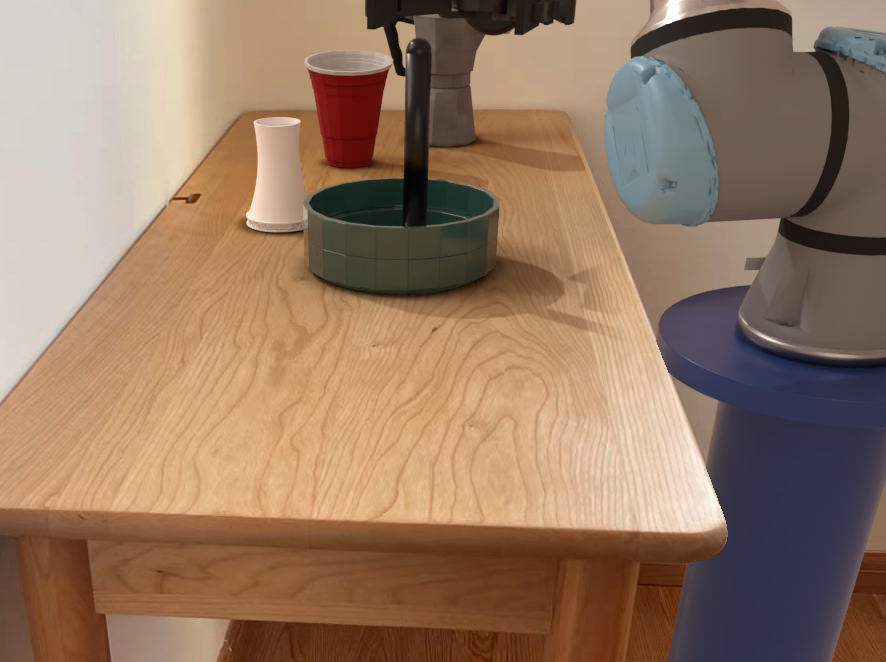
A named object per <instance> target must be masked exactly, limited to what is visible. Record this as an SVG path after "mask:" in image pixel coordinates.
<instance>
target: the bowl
mask: <svg viewBox="0 0 886 662" xmlns="http://www.w3.org/2000/svg"><path fill="white" fill-rule="evenodd" d="M403 183H404V176H391V177H390V176H388V177H374V178H373V177H372V178H362V179H355V180H350V181H348V180H347V181H342V182H338V183H337V182H336V183H334V184H330V185H327V186H323V187H320V188H318V189H317V190H314V191H312V192H310V193H309V194H307V196H306V198H305V200H304V202H303V230H302V231H303V259H304V263H305V265H306V267H307V270H308V271H310V272H311V273H312V274H315V276H318V277H319V278H320V279H323V280H324V281H326V282H328V283H330V284H332V285H335V286H338V287H342V288H346V289H350V290H353V291H354V290H355V291H358V292H359V291H360V292H366V293H373V294H374V293H375V294H389V295H390V294H391V295H411V294H413V295H415V294H427V293H428V294H429V293H435V292H436V293H437V292H442V291H448V290H452V289H455V288H460V287H463V286H466V285H468V284H471V283H474V282H475V281H477V280H479V279H480V278H482V277H485V276H486V275H488V274H489V273H490V272H491V271H492V270H493V269H494V268H496V265H497V251H498V250H497V248H498V233H499V219H500V206H501V205H500V203H501V199H500V197H498V196H497V195H496V194H494V193H493V192H492V191H491V190H488V189H486V188H482V187H480V186H477V185H475V184H472V183H471V184H470V183H466V182H461V181H457V180H456V181H455V180H451V179H442V178H433V177H428V197H427V225H425V226H410V227H405V226H403Z"/></svg>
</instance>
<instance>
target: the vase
mask: <svg viewBox="0 0 886 662" xmlns="http://www.w3.org/2000/svg"><path fill="white" fill-rule="evenodd" d="M301 124H302V120H301V119H299V118H296V117H288V116H271V117H270V116H269V117H263V118H258V119H256V120H254V121H253V127H254V132H255V138H256V139H255V140H256V148H257V150H256V151H257V171H256V181H255V187H254V193H253V197H252V201H251V204H250V205H251V206H250V208H249V210H248V211H247V212H246V213H245V217H246V219H247V220H246V222H245V223H246V226H247V227H249V228H250V229H252V230H256V231H259V232H266V233H267V232H268V233H291V232H298V231H303V202H304V200H305V198H306V196H307V195H308V193H307V189H306V184H305V181H304V176H303V171H302V164H301V153H300V152H301V151H300V141H301V139H300V137H301Z"/></svg>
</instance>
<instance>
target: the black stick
mask: <svg viewBox="0 0 886 662" xmlns="http://www.w3.org/2000/svg"><path fill="white" fill-rule="evenodd" d="M431 63H432V49H431V46H430V43H429V42H428V41H427V40H426V39H424V38H420V37H419V38H416V37H415V38H412V39H411V40H410V41H409V42H408V44H407V45H406V49H405V68H406V70H405V77H404V79H405V80H404V128H403V129H404V133H403V134H404V137H403V177H404V183H403V226H405V227H410V226H425V225H427V197H428V178H429V163H430V162H429V161H430V157H429V155H430V146H429V130H430V97H431Z"/></svg>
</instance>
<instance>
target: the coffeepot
mask: <svg viewBox="0 0 886 662" xmlns="http://www.w3.org/2000/svg"><path fill="white" fill-rule="evenodd" d="M452 11H457V9H453V8H452ZM398 22H399V23H404V24H409V25H414V34H415V38H419V37H420V38H424V39H426V40H427V41H428V42H429V43H430V46H431V49H432V63H431V97H430V130H429V147H443V148H444V147H445V148H447V147H459V146H465V145H469V144H472V143H474V142H475V141H476V139H477V138H476V130H475V129H476V128H475V119H474V118H475V117H474V109H473V107H474V105H473V98H472V87H471V73H472V72H473V71H474V68H475V62H476V56H477V51H478V49H479V47H480V46H481V44H482V42H483V40H484V39H485V37H486V35H485V34H482V33H480V32H478V31H476V30H475V29H473V28H472V27H471V26H470V25H469V24H468V23H467V21H466V20H465V19H463V18H453V19H447V18H442V17H440V16H439V15H438V14H431V15H419V16H408V17H397V21H395V22H393V23H390V27H383V31H384V35H385V38H386V41H387V45H388V49H389V53H390V56H391V58H392V59H393V63H392V65H393V68H394V72H395V74H396V75H397V76H399V77H403V78H405V70H406V67H404V64H403V62H404V61H403V58H404V57H403V51H402V48H401V46H400V40H399V39H400V38H399V31H398V29H397V24H398Z"/></svg>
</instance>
